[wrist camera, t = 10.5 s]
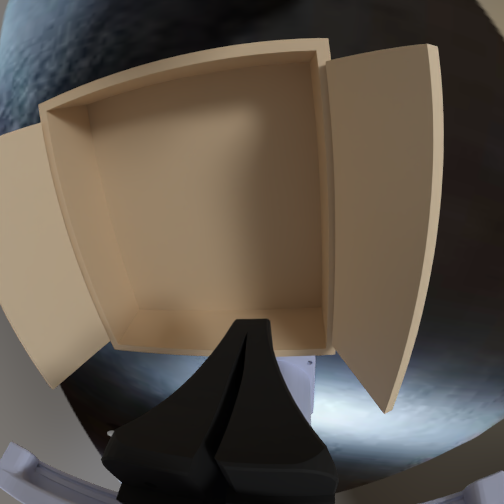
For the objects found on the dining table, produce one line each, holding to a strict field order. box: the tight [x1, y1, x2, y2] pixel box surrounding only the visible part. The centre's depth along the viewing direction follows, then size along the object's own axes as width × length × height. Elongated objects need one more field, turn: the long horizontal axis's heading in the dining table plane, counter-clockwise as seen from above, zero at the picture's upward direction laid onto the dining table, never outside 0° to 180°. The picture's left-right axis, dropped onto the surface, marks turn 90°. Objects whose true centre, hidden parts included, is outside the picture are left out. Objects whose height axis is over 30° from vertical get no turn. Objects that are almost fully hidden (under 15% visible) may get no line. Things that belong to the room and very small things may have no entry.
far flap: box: [0, 123, 110, 389], centre depth 15 cm, size 16×6×1 cm
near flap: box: [325, 44, 444, 414], centre depth 12 cm, size 16×6×1 cm
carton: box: [38, 38, 335, 357], centre depth 18 cm, size 18×16×5 cm
